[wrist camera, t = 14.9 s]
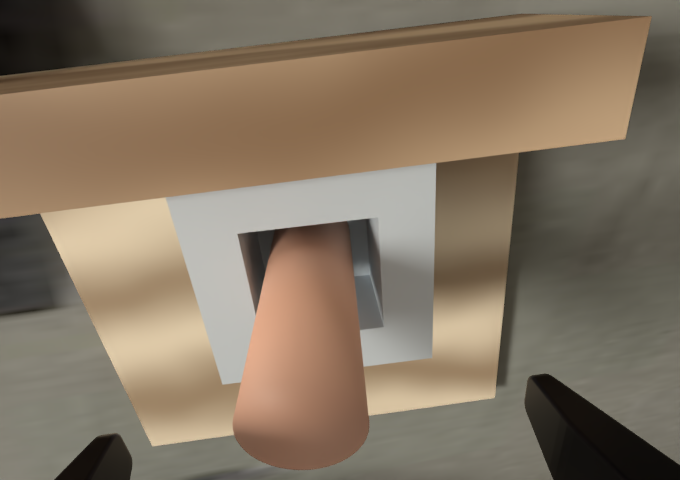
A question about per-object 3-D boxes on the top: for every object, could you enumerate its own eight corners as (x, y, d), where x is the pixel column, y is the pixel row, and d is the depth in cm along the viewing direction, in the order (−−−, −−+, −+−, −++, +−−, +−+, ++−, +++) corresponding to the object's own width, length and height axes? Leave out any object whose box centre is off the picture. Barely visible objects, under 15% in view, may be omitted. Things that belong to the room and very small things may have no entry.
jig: (488, 384, 26) (546, 500, 20) (157, 431, 26) (112, 564, 19) (520, 13, 17) (651, 16, 10) (-7, 76, 16) (-197, 118, 10)
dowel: (353, 261, 18) (374, 463, 10) (282, 269, 18) (249, 475, 10) (345, 195, 17) (362, 372, 9) (268, 204, 17) (217, 387, 9)
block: (404, 284, 21) (432, 358, 16) (238, 304, 21) (222, 384, 16) (400, 117, 17) (436, 155, 13) (197, 139, 17) (161, 185, 12)
